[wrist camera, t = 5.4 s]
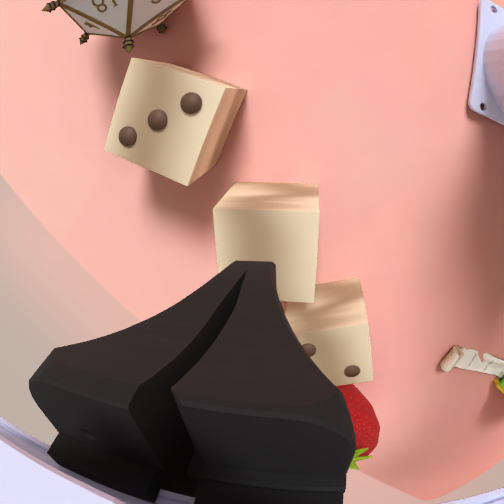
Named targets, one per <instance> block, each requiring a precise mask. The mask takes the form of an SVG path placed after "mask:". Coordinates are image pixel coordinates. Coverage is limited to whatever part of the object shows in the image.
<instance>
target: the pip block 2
mask: <svg viewBox="0 0 504 504" xmlns="http://www.w3.org/2000/svg"><path fill="white" fill-rule="evenodd" d="M285 316H286V318H287V320H288V322H289V324H290V326H291V328H292V330H293V332H294V333H295V335H296V337H297V339H298V340H299V342H300V343H301V345H302V346H303V348H304V349H305V351H306V352H307V353H308V355H309V356H310V358H311V359H312V360H313V362H314V363H315V364H316V365H317V366H318V368H319V369H320V370H321V371H322V372H323V374H324V375H325V376H326V377H327V378H328V379H329V380H330V381H331V382H332V383H333V384H334V385H335V386H340V385H347V384H354V383H360V382H366V381H372V380H374V379H373V367H372V355H371V345H370V335H369V326H368V319H367V314H366V308H365V303H364V298H363V292H362V287H361V282H360V277H356V278H351V279H346V280H340V281H335V282H330V283H324V284H318V285H315V294H314V303H307V302H290V301H287V302H286V308H285Z"/></svg>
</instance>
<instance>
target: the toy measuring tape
mask: <svg viewBox="0 0 504 504" xmlns="http://www.w3.org/2000/svg"><path fill="white" fill-rule="evenodd" d="M483 360H484V362H482V361H481V360H480V358H479V356H478V351H477V350H473V349H468V350H466V348H464V347H462V348H461V349H460V348H459V347H458V346H454V347H453V348H452V349H451V350H450V352H449V353H448V354H447V355H446V356H445V358H444V359H443V360H442V361H441V362H440V367H441V369H442V370H443V371H445V372H449V371H451V370H452V368H453V367H454V366H455V367H458V368H460V369H466V370H473V371H478V372H483V373H487V374H492V375H497V377H496V378H495V379H494V383H495V386H496V387H497V388H498V389H499V390H500V391H501V392H502V393H503V394H504V360H501V359H498V358H496V357H494V356H492V355H490V354H489V353H484V354H483Z"/></svg>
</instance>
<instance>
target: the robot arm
mask: <svg viewBox="0 0 504 504" xmlns="http://www.w3.org/2000/svg"><path fill="white" fill-rule="evenodd" d="M491 7H492V8H493V9H494V12H492V10H491ZM481 103H482V104H483V105H484V109H483V110H481V108H480V105H481ZM468 105H469V108H470V109H471V110H472V111H474V112H476V113H478V114H481V115H483V116H485V117H487V118H489V119H491V120H493V121H495V122H497V123H499V124H501V125H503V126H504V9H503V8H501V7H500V6H498V5H496V4H494V3H492V2H491V1H489V0H480V1H479V6H478V25H477V38H476V49H475V58H474V66H473V73H472V80H471V86H470V92H469V98H468ZM29 389H30V392H31V394H32V397H33V399H34V400H35V402H36V403H37V405H38V406H39V408H40V409H41V410H42V411H43V413H44V414H45V416H46V417H47V418H48V419H49V421H50V422H51V423H52V424H53V426H54V427H55V428H56V429H57V431H58V432H59V434H58V435H57V437H56V439H55V440H54V442H53V443H52V445H51V446H50V445H48V444H46V443H45V442H42V441H41V440H39V439H37V438H35V437H33V436H32V435H30V434H28V433H26V432H25V431H23V430H21V429H19V428H18V427H16V426H14V425H13V424H11V423H10V422H8V421H6V420H5V419H3V418H2V417H0V504H343V493H344V492H345V489H346V473H347V471H348V469H349V467H350V464H351V462H352V460H353V457H354V455H355V451H356V437H355V431H354V426H353V422H352V419H351V415H350V412H349V409H348V406H347V404H346V401H345V399H344V396H343V393H342V392H341V391H340V390H339V389H338V388H337V387H336V386H335V385H334V384H333V383H332V382H331V381H330V380H329V379H328V378H327V377H326V376H325V375H324V374H323V372H322V371H321V370H320V369H319V368H318V366H317V365H316V364H315V363H314V362H313V360H312V359H311V358H310V356H309V355H308V353H307V352H306V351H305V349H304V348H303V346H302V345H301V343H300V342H299V340H298V339H297V337H296V335H295V333H294V332H293V330H292V328H291V326H290V324H289V322H288V320H287V318H286V316H285V313H284V311H283V308H282V306H281V303H280V300H279V297H278V293H277V285H276V265H275V264H274V263H273V262H270V261H238V260H236V261H234V262H233V263H231V264H230V265H229V266H227V267H226V268H225V269H224V270H222V271H221V272H220V273H219V274H217V275H216V276H215V277H213V278H212V279H211V280H210V281H208V282H207V283H206V284H204V285H203V286H202V287H200V288H199V289H197V290H196V291H194V292H193V293H192V294H190V295H189V296H187V297H186V298H184V299H183V300H181V301H180V302H178V303H177V304H175V305H173V306H172V307H170V308H168V309H166V310H165V311H163V312H161V313H159V314H157V315H155V316H153V317H151V318H149V319H147V320H145V321H142V322H140V323H138V324H136V325H133V326H131V327H129V328H126V329H124V330H121V331H118V332H116V333H113V334H110V335H107V336H104V337H100V338H97V339H93V340H90V341H86V342H82V343H77V344H73V345H68V346H64V347H58V348H54V350H53V351H52V352H51V353H50V355H49V356H48V357H47V358H46V360H45V361H44V362H43V363H42V364H41V366H40V367H39V368H38V369H37V371H36V372H35V373H34V375H33V376H32V377H31V378H30V380H29ZM440 504H504V487H503V488H499V489H496V490H493V491H490V492H486V493H483V494H479V495H475V496H471V497H467V498H463V499H459V500H454V501H450V502H445V503H440Z"/></svg>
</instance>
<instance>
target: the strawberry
mask: <svg viewBox="0 0 504 504" xmlns="http://www.w3.org/2000/svg"><path fill="white" fill-rule="evenodd" d="M336 387H337V388H338V389H339V390H340V391H341V392H342V393H343V396H344V399H345V401H346V404H347V406H348V409H349V412H350V415H351V419H352V422H353V426H354V431H355V437H356V451H355V455H354V457H353V460H352V462H351V464H350V467H349V468H352V469H357V470H358V469H359V468H358V467H357V465H356V464H355V462H356V461H359V460H363V459H368V458H372V456H368V455H369V454H370V453H371V452H372V451H373V450H374V448H375V447H376V446H377V443H378V438H379V431H380V426H379V422H378V420H377V417H376V415H375V412H374V410H373V407H372V405H371V404H370V402H369V401H368V400H367V399H366V398H365V397H364V395H363V394H362V393H361V392H360V391H359V390H358V389H357V388H356V387H355V386H354V385H352V384H347V385H340V386H336Z"/></svg>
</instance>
